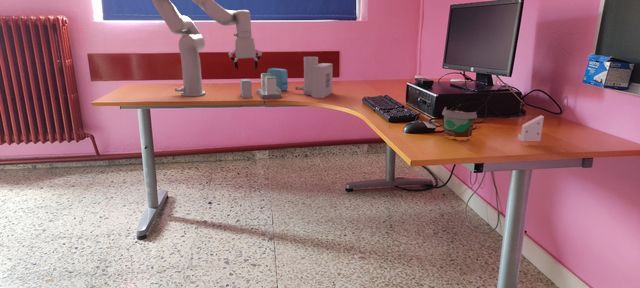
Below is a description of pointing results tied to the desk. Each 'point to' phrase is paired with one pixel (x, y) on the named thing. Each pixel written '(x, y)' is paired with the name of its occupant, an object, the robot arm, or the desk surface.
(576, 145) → the desk surface
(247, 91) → the block
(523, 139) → the white angled block
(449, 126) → the food container
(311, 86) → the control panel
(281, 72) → the data package
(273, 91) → the rail
